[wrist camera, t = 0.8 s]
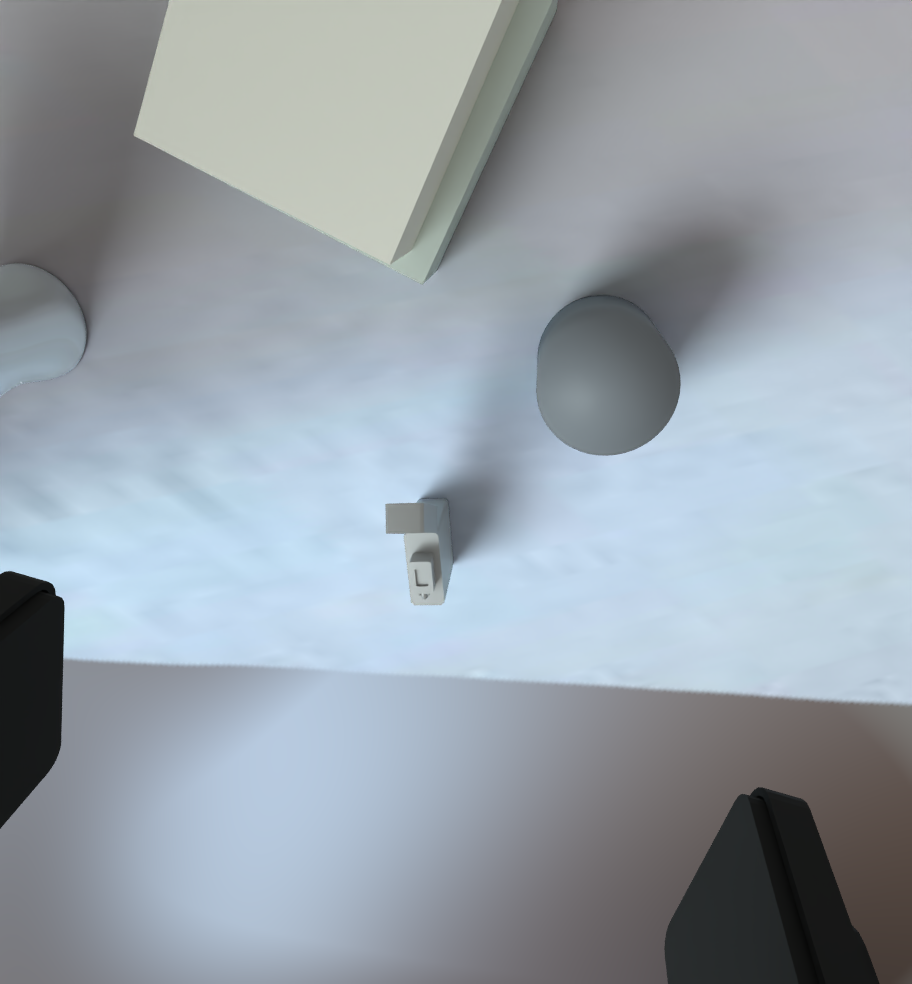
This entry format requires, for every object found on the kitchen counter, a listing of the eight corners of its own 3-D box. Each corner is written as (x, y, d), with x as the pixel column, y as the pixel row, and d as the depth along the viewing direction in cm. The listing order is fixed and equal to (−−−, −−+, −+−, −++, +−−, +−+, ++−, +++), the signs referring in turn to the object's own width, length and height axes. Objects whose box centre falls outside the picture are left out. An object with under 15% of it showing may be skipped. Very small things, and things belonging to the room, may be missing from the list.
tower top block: (411, 250, 33) (389, 264, 28) (192, 139, 32) (133, 135, 27) (519, -1, 29) (515, -33, 24) (273, -135, 28) (220, -194, 23)
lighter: (453, 565, 44) (435, 646, 36) (423, 565, 44) (398, 646, 37) (443, 446, 41) (421, 508, 34) (411, 447, 41) (382, 509, 34)
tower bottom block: (437, 270, 38) (422, 285, 33) (211, 153, 37) (163, 151, 32) (556, 11, 33) (558, -14, 28) (301, -131, 32) (260, -180, 27)
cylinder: (619, 435, 40) (632, 478, 34) (516, 382, 39) (511, 417, 34) (684, 331, 37) (709, 359, 32) (575, 273, 37) (580, 291, 31)
